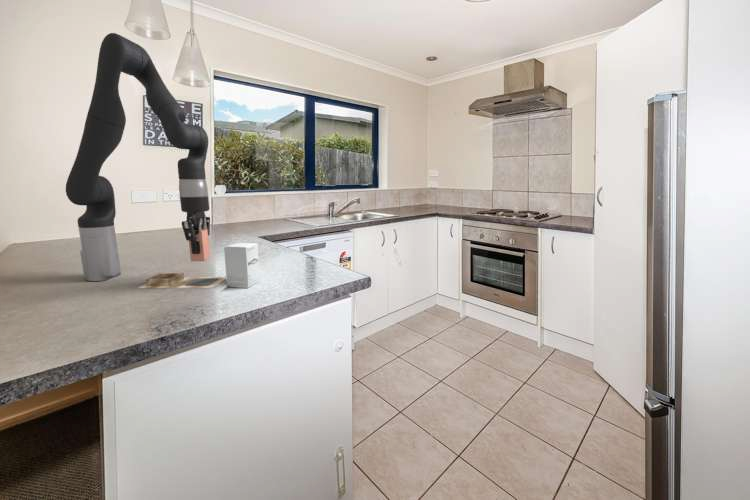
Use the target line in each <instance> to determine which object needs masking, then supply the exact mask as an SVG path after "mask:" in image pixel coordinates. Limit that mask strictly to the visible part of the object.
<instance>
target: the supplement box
mask: <svg viewBox="0 0 750 500" xmlns="http://www.w3.org/2000/svg"><path fill="white" fill-rule="evenodd" d="M223 250H224V263H225V275H226V276H225V277H226V279H225V280H226V284H227V285H226V288H227V287H228V288H240V289H249V288H250V287H252V286H254V285H256V284H257V283H259V282H261V281H260V280H261V278H260V261H259V245H258V243H255V242H253V243H252V242H236V243H233V244H229V245H227V246H224V247H223Z"/></svg>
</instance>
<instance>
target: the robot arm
mask: <svg viewBox="0 0 750 500" xmlns="http://www.w3.org/2000/svg"><path fill="white" fill-rule="evenodd" d="M121 73H123V74H125V75H129V76H132V77H134V78H135V79H136V80H137V81H138V82H139V83H140V84H141V85H142V86H143V87H144V89H145V97H146V102H147V104H148V107H150V109H151V110H152V112H153V113H154V114H155V116H156V117H157V119H158V120H159V121H160V123H161V127H162V129H163V131H164V134H165V136H166V140H167V141H168V142H169V144H171V145H172V147H174V148H175V149H176V148H177V149H179V150H188V155H187V157H184V158H180V159H179V160H178V161H177V173H178V192H179V202H180V210H181V212H182V213H186V220H185V221H181V226H182V230H183V234H184V237H185V240H186V241H188V242H189V241H190V242H191V248H192V254H200V243H199V234H200V232H201V230H207V231H208V237H209V236H210V233H211V232H210V230H211V216H206V213H205V212H208V211H210V200H209V190H208V184H207V178H206V169H205V167H206V166H205V165H206V164H205V163H206V159H207V153H208V148H209V135H208V133H207V132H206V130H205V128H203V126H200V125H197V124H191V123H185V121H186V119H187V115H186V112H185V110H184V109H183V107H182V106H181V104H179V102H178V101H177V100H176V98H175V97H174V96H173V94H172V93H171V92H170V90H169V89H168V88H167V85H166V84H165V83H164V81H163V79H162V77H161V76H160V73H159V72H158V70H157V68H156V65H155V64H154V63H153V60H152V58H151V56H150V54H149V53H148V52H147V50H146V49H145V48H144V47H143V46H141V45H139V44H138V43H136V42H134V41H132V40H130V39H128V38H126V37H125V36H123V35H121V34H119V33H115V32H110V33H108V34H106V35H105V37H103V39H102V41H101V44H100V48H99V52H98V59H97V67H96V75H95V82H94V86H93V87H94V88H93V91H92V96H91V101H90V104H89V107H88V111H87V114H86V118H85V122H84V127H83V133H82V136H81V139H80V142H79V147H78V150H77V153H76V156H75V158H74V161H73V162H74V163H73V165H72V167H71V169H70V172H69V175H68V176H67V180H66V183H65V193H66V197H67V199H68V200H69V201H70V202H71V203H72V204H74V205H77V206H86V209H85V212H84V213H83V214H82V215H80V216H79V217H78V218H77V227H78V232H79V239H80V240H79V241H80V247H81V249H80V251H79V252H80V260H81V265H82V273H83V278H84V280H86V281H89V282H100V281H101V282H102V281H108V280H111V279H113V278H116V277H118V276H120V275H122V271H121V263H120V257H119V255H120V254H119V249H118V243H117V236H116V235H117V234H116V229H115V218H116V213H117V212H116V211H117V209H116V199H115V192H114V187H113V185H112V183H111V181H110V180H109V179H107V177H105V176H104V175H100V172H101V170H102V167H103V165H104V163H105V162H106V161H107V159H108V158H109V157H110V156H111V155H112V154H113V152H114V151H115V150H116V149H117V147H118V146H119V145H120V144H121V141H122V137H123V135H124V132H125V128H126V123H127V120H126V119H127V118H126V112H125V109H124V106H123V103H122V100H121V97H120V92H119V91H120V90H119V85H120V78H121ZM194 230H197V231H194ZM188 233H189V234H188ZM195 234H196V235H195Z"/></svg>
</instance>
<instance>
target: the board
mask: <svg viewBox="0 0 750 500" xmlns="http://www.w3.org/2000/svg"><path fill="white" fill-rule="evenodd" d="M225 280H226V276H225V277H223V276H222V277H221V276H220V277H211V276H210V277H209V276H208V277H185V272H159V273H157V274H155V275H152V276H151V277H148V278H146V279H145V283H144V284H142V285H140V286H137V289H188V288H189V289H192V288H193V289H199V288H200V289H202V288H203V289H204V288H205V289H207V288H208V289H211V288H215V287H216V286H217V285H219V284H220V283H222V282H223V281H225Z"/></svg>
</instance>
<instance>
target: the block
mask: <svg viewBox="0 0 750 500" xmlns="http://www.w3.org/2000/svg"><path fill="white" fill-rule="evenodd" d="M194 231H197V230H194ZM188 234H189V233H188ZM195 235H196V234H195ZM199 243H200V254H192V248H191V242H190V241H189V240H188V246H189V257H190V262H206V261H208V260H210V259H211V253H210V243H209V236H208V231H207V230H201V232H200V234H199Z"/></svg>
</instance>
